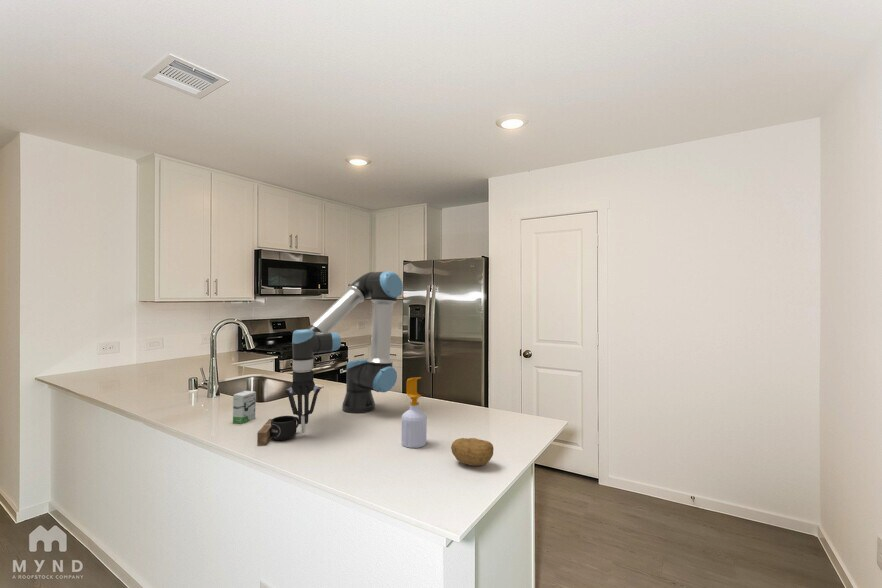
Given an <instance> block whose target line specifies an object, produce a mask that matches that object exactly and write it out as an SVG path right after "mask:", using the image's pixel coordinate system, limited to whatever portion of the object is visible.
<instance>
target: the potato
mask: <svg viewBox="0 0 882 588" xmlns="http://www.w3.org/2000/svg"><path fill="white" fill-rule="evenodd" d="M450 450H451V454H452V455H453V456H454V458H455V459H456V460H457V461H458V462H460V463H462V464H466V465H469V466H472V467H473V466H474V467H475V466H483V465H486V464H487V463H489V462H490V461H491V460H492V458H493V455H494V444H492V442H491V441H487V440H483V439H480V438H475V437H468V438H466V437H465V438H464V437H461V438H457V439H455V440H454V441H452V444H451V446H450Z"/></svg>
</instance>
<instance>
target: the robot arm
mask: <svg viewBox="0 0 882 588" xmlns="http://www.w3.org/2000/svg"><path fill="white" fill-rule="evenodd" d="M403 286H404V285H403V281H402V279H401V277H400V276H399V274H397V273H396V272H395V271H388V270H387V271H384V270H383V271H371V272H370V271H369V272H367V273H365V274H362V275H361V276H360V277H359V278H357V279H356V280H354V281H353V282H352V283H351V284H350V285H349V286H348V287H347V291H346V292H344V294H342V295H341V296H340V297H339V298H338V299H337V300H336V301H334V303H333V304H331V306H330V307H328V308H327V310H325V311H324V312H323V313H322V314H320V316H319V317H318V318H316V319H315V320H314V321H313V322H312V323H311V324H310V325H309V326H308V327H307V328H306V329H296V330H294V331H293V332H292V341H291V344H292V371H293V372H292V384H291V386H290V387H289V388H287V389H286V390H285V394H286V395H287V397H288V400H289V403H290V407H291V411H292V414H293V416H294V415H295V416H297V417H298V423H299V425H300V428H301V430H300V431H301V432H300V433H301V434H304V435H305V433H306V428H307V427H306V426H307V425H308V423H309V415H312V414H313V412H314V410H315V405H316V401H317V399H318V396H319V395H318V394H319V393H320V391H321V387H319V386H316V383H315V382H314V354H321V353H330V352H334V351H337V350H339V349H340V347H341V344H342V339H341V336H340V334H339V333H338V332H336V331H335V332H332V329H333V328H334V327H336V326H337V325H338V323H340V322H341V320H343V319H344V318H345V317H346V316H347V315H348V314H349V313H350V312H351V311H352V310H353V309H354V308H355V307H357V305H358V304H359V303H360V304H361V303H363V302H364V301H365V300H366V299H367V300H368V299H369V298H370V302H372V303H373V316H372V327H371V328H372V331H371V344H370V356H369V358H364V359H353V360H349V361H348V362H347V363H346V368H345V370H346V373H345V374H346V377H345V378H346V387H345V388H346V389H345V390H346V392H345V395H344V399H343V402H342V406H341V407H342V411H343V412H346V413H350V414H351V413H352V414H361V413H367V412H371V411H373V410H375V409H376V403H375V400H374V399H375V398H374V396H373V392H372V391H374V392H377V393H387V392H389V391H390V390H392V389H393V387H394V386H395V384H396V383H397V379H398V374H397V370H396V369H395V367H393V360H392V359H391V357H390V356H391V355H390V354H391V339H392V327H393V326H392V323H393V312H394V311H393V309H394V305H395V304H396V303H397V302H398V301H397V299H398V297H399V296H400V295H401V294H402V292H403V290H404V289H403ZM312 391H313V396H312V400H311V404H310V405H309V402H310V401H309V400H310V399H309V397H310V393H311V392H312ZM293 393H295V394H296V396H297V404H296V400H295V397H294V394H293ZM303 397H304V400H303ZM303 404H304V405H303ZM303 406H304V407H303ZM303 409H304V410H303Z"/></svg>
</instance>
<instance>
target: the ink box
mask: <svg viewBox="0 0 882 588" xmlns="http://www.w3.org/2000/svg"><path fill="white" fill-rule="evenodd" d="M256 395H257V392H256V391H254V390H253V391H252V390H244V391H240V392H238V393H234V394H233V397H232V399H233V402H232V405H233V406H232V424H240V425H243V423H244V424H245V423H248V422H250V421H253V420H254V419H256V406H257V405H256V404H257V403H256V401H257V399H256V397H257V396H256Z"/></svg>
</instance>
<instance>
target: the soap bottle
mask: <svg viewBox="0 0 882 588" xmlns="http://www.w3.org/2000/svg"><path fill="white" fill-rule="evenodd" d="M420 379H422V377H421V376H417V377H416V376H415V377H409V378H407V380H406V396H408V397H410V400H411V402H409V409H408V410H406V411H405V412H403V414H402V415H401V445H402V446H403V447H406V448H409V449H416V448H417V449H418V448H422V447H425V446H426V444H427V432H428V431H427V429H428V428H427V414H426V413H425V412H424V411H422V410H421V409H420V402H418V399H419V398H422V395H421V394H419V392H418V380H420Z"/></svg>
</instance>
